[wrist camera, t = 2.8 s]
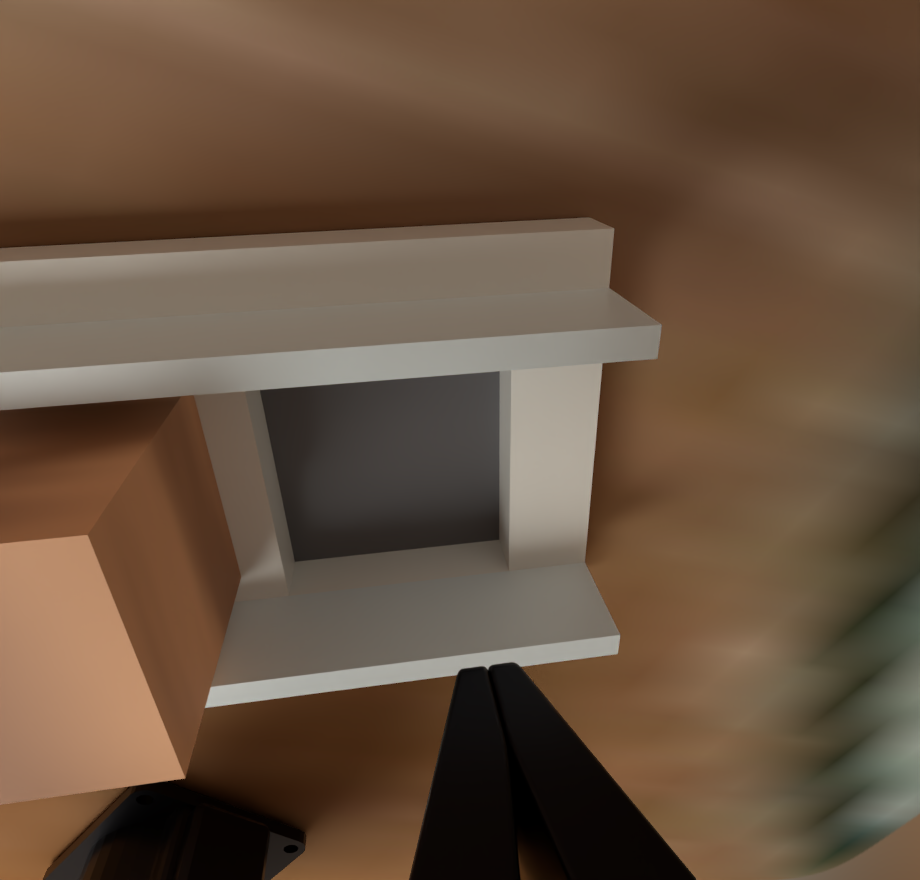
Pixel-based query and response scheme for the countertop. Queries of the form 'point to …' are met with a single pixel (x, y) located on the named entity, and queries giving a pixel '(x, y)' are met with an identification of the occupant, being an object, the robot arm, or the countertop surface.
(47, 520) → the block
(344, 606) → the channel
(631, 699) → the countertop surface
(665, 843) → the robot arm
